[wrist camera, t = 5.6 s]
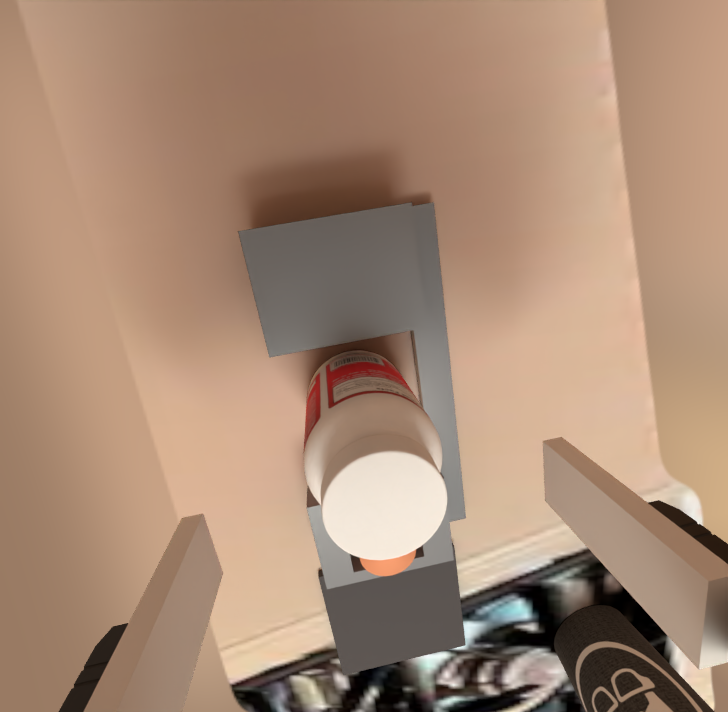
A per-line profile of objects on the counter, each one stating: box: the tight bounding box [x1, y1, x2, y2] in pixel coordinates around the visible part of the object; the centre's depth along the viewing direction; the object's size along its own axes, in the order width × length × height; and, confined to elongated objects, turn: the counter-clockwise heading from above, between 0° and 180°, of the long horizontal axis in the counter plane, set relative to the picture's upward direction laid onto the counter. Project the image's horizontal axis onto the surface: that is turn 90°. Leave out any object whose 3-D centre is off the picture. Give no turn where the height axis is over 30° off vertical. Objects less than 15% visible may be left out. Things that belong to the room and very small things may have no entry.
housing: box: [238, 202, 466, 589], centre depth 23 cm, size 21×10×4 cm, turn 9°
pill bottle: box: [304, 350, 447, 560], centre depth 19 cm, size 6×6×11 cm
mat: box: [319, 543, 465, 675], centre depth 29 cm, size 10×10×1 cm
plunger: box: [360, 550, 416, 576], centre depth 24 cm, size 3×3×5 cm
